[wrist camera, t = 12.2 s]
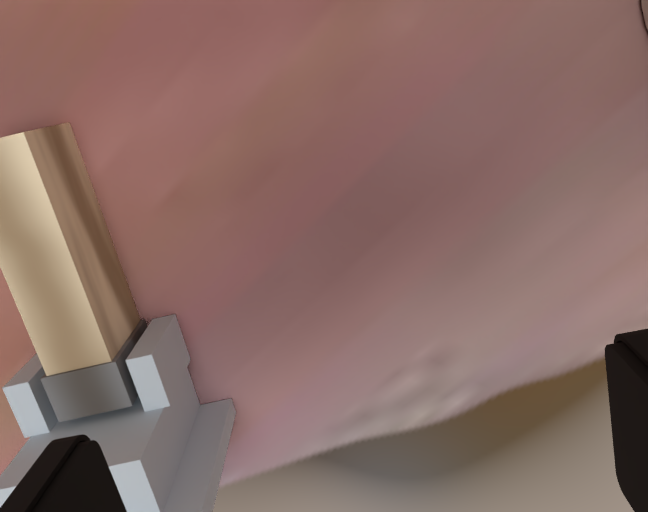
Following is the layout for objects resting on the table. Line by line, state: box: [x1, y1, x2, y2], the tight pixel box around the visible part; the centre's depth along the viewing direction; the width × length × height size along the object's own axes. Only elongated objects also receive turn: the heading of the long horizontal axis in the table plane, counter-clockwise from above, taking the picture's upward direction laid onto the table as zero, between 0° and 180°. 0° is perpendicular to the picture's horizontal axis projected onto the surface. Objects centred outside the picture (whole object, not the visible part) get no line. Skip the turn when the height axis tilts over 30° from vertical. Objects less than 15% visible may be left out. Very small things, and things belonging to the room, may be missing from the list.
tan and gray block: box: [0, 123, 148, 422], centre depth 36 cm, size 5×16×6 cm, turn 14°
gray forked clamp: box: [0, 314, 236, 512], centre depth 36 cm, size 8×13×13 cm, turn 104°
